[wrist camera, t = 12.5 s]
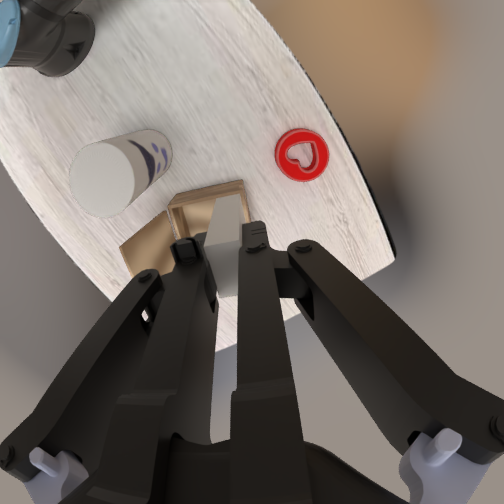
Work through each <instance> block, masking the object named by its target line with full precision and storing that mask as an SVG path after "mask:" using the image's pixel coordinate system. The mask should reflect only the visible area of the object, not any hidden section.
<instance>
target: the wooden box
mask: <svg viewBox="0 0 504 504" xmlns="http://www.w3.org/2000/svg"><path fill="white" fill-rule="evenodd" d="M235 194H240V197H241V201H242V206H243V210H244V215H245V220H246V223H249V222H251V219H250V214H249V209H248V204H247V199H246V195H245V190H244V185H243V180H238V181H233V182H228V183H223V184H219V185H214V186H209V187H205V188H201V189H196V190H192V191H188V192H183V193H179V194H176V195H175V196H174V198H173V199H172V201H171V202H170V203H169V205H168V206H167V207H168V210H169V213H170V216H171V219H172V223H173V226H174V229H175V232H176V235H177V238H178V240H179V239H181V238H185V237H191V236H192V237H194V236H195V235H196V234H197V233H202V232H207V231H208V228H209V224H210V220H211V216H212V213H213V209H214V205H215V202H216V198H221V197H226V196H230V195H235Z"/></svg>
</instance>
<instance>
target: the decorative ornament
mask: <svg viewBox="0 0 504 504" xmlns="http://www.w3.org/2000/svg"><path fill="white" fill-rule="evenodd" d="M300 143H310V144H311V148H312V153H313V160H312V163H311V165H310V166H309V167H307V168H302V167H301V166H300V163H299V160H297V159H289V158H288V156H287V152H288V150H289V148H290V147H292V146H294V145H296V144H300ZM275 161H276V163H277V165H278V167H279V168H280V170H281V171H282V172H283V173H284V174H285V175H286V176H287V177H288V178H290V179H292V180H295V181H299V182H307V181H311V180H314V179H316V178H317V177H319V176H320V175H321V174H322V173H323V172H324V171H325V169H326V167H327V165H328V161H329V150H328V146H327V144H326V142H325V141H324V139H323V138H322V137H321V136H320V135H319V134H317V133H315V132H313V131H310V130H307V129H293V130H290V131H288V132H286V133H285V134H283V135H282V136H281V138H280V139H279V140H278V142H277V144H276V147H275Z"/></svg>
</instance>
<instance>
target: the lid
mask: <svg viewBox="0 0 504 504" xmlns="http://www.w3.org/2000/svg"><path fill="white" fill-rule="evenodd" d="M175 241H176V240H175V237H174V234H173V231H172V228H171V225H170V222H169V219H168V215H167V212H166V211H163V212H161V213H160V214H159V215H158V216H156V217H155V218H153V220H151V221H150V222H149V223H148V224H146V225H145V226H144V227H143V228H141V229H140V230H139V231H138V232H136V233H135V234H134V235H133V236H132V237H130V238H129V239H128V240H127V241H126V242H124V243H123V244H122V245H121V246H120V247H119V249H120V251H121V254H122V256H123V258H124V261H125V263H126V265H127V268H128V270H129V272H130V274H131V277H132V278H133V277H134V276H135V275H137V274H138V273H140V272H141V271H142V270H145V269H157V270H158V271H159V274H160V276H161V275H164V274H167V273H169V272H172V270H173V268H174V265H175V261H174V258H173V256H172V253H171V250H170V245H171V244H172V243H174V242H175Z"/></svg>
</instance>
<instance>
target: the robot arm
mask: <svg viewBox="0 0 504 504" xmlns="http://www.w3.org/2000/svg"><path fill="white" fill-rule="evenodd" d="M81 1H82V0H3V1H2V2H0V68H2V67H32V68H34V69H35V70H38V72H39V73H41V74H42V75H45V76H48V77H59V76H63V75H66V74H68V73H69V72H71V71H72V70H74V69H75V68H76V67H77V66H78V65H79V64H80V63H81V62H82V61H83V60H84V58H85V57H86V55H87V54H88V52H89V50H90V48H91V46H92V43H93V40H94V34H95V28H94V23H93V21H92V19H91V18H90V17H89V16H87V15H85V14H83V13H81V12H76V11H72V10H73V9H74V8H75V7H76V6H77V5H78V4H79V3H80V2H81ZM71 11H72V12H71ZM170 250H171V253H172V256H173V258H174V261H175V265H174V268H173V270H172V272H169V273H167V274H164V275H161V276H160V274H159V271H158V270H157V269H145V270H142V271H141V272H140V273H138V274H137V275H135V276H134V277H133V278H132V280H131V281H130V282H129V283H128V284H127V285H126V287H125V288H124V289H123V290H122V291H121V293H120V294H119V295H118V296H117V297H116V299H115V300H114V301H113V302H112V304H111V305H110V306H109V307H108V308H107V310H106V311H105V312H104V313H103V315H102V316H101V317H100V318H99V320H98V321H97V322H96V323H95V325H94V326H93V327H92V329H91V330H90V331H89V332H88V334H87V335H86V336H85V338H84V339H83V340H82V342H81V343H80V344H79V346H78V347H77V348H76V350H75V351H74V352H73V354H72V355H71V357H70V358H69V359H68V361H67V362H66V364H65V365H64V366H63V368H62V369H61V371H60V372H59V374H58V375H57V376H56V378H55V379H54V381H53V382H52V383H51V385H50V386H49V388H48V389H47V391H46V393H45V394H44V396H43V397H42V399H41V400H40V402H39V403H38V405H37V406H36V408H35V409H34V411H33V413H32V414H30V415H29V417H27V418H26V419H25V420H24V421H23V422H22V423H21V424H20V425H19V426H18V427H17V428H16V429H15V430H14V431H13V432H12V433H11V434H10V435H9V436H8V437H7V438H6V439H5V440H4V441H3V442H2V443H1V445H0V467H1V468H2V469H3V470H4V471H6V472H7V473H9V474H11V475H12V476H14V477H15V478H17V479H19V480H20V481H22V482H23V483H24V485H25V487H26V489H27V491H28V492H29V494H30V496H31V498H32V500H33V501H34V503H35V504H466V503H467V502H468V500H469V499H470V497H471V496H472V494H473V493H474V491H475V490H476V488H477V486H478V485H479V483H480V481H481V480H482V478H483V476H484V475H485V473H486V471H487V469H488V468H489V466H490V465H491V463H493V461H495V460H496V459H497V458H499V457H500V456H501V455H502V454H504V400H503V399H501V398H499V397H497V396H495V395H493V394H492V393H489V392H488V391H486V390H484V389H482V388H480V387H478V386H476V385H475V384H473V383H471V382H469V381H467V380H465V379H463V378H461V377H460V376H458V375H456V374H455V373H454V372H453V371H452V370H451V369H450V368H449V367H448V366H447V364H445V362H444V361H443V360H442V359H441V358H440V357H439V356H438V355H437V354H436V353H435V352H434V351H433V350H432V349H431V348H430V347H429V346H428V345H427V344H426V343H425V342H424V341H423V340H422V339H421V338H420V337H419V336H418V335H417V334H416V333H415V332H414V331H413V330H412V329H411V328H410V327H409V326H408V325H407V324H406V323H405V322H404V321H403V320H402V319H401V318H400V317H399V316H398V315H397V314H396V313H395V312H394V311H393V310H392V309H390V307H388V306H387V305H386V304H385V303H384V302H383V301H382V300H381V299H380V298H379V297H378V296H376V294H375V293H373V292H372V291H371V290H370V289H369V288H368V287H367V286H366V285H365V284H364V283H363V282H362V281H361V280H359V279H358V278H357V277H356V276H355V275H354V274H353V273H352V272H351V271H350V270H348V269H347V268H346V267H345V266H344V265H343V264H342V263H341V262H339V261H338V260H337V259H336V258H335V257H334V256H333V255H332V254H330V253H329V252H328V251H327V250H326V249H325V248H324V247H322V246H321V245H320V244H319V243H318V242H316V241H313V240H309V239H302V240H299V241H296V242H293V243H291V244H290V245H289V246H288V248H287V251H278V250H274V249H272V248H271V247H270V245H269V241H268V236H267V231H266V226H265V223H264V222H262V221H261V220H260V221H255V222H249V223H246V220H245V215H244V210H243V206H242V201H241V197H240V194H235V195H230V196H226V197H221V198H216V202H215V205H214V209H213V213H212V216H211V220H210V224H209V228H208V231H207V232H202V233H197V234H196V235H195V236H194V237H192V236H191V237H185V238H181V239H179V240H177V241H175V242H174V243H172V244H171V245H170ZM217 291H218V295H219V298H224V297H230V296H236V295H238V317H237V389H236V391H233V392H232V395H231V418H230V419H231V420H230V421H231V422H230V427H231V428H230V439H229V440H225V441H221V442H218V443H214V444H212V443H211V440H210V416H211V400H212V384H213V370H214V357H215V345H216V332H217V321H218V309H219V303H218V300H217V297H216V292H217ZM280 298H294V301H295V304H296V306H297V307H298V308H299V310H300V311H301V313H302V314H303V316H304V317H305V319H306V320H307V322H308V323H309V325H310V326H311V328H312V329H313V331H314V332H315V333H316V335H317V336H318V338H319V339H320V341H321V342H322V344H323V345H324V347H325V348H326V349H327V351H328V353H329V354H330V356H331V357H332V359H333V360H334V362H335V363H336V365H337V366H338V368H339V369H340V370H341V372H342V373H343V375H344V376H345V378H346V379H347V381H348V382H349V384H350V385H351V387H352V388H353V390H354V391H355V393H356V394H357V396H358V397H359V399H360V400H361V402H362V403H363V405H364V406H365V408H366V409H367V411H368V412H369V414H370V415H371V417H372V418H373V420H374V421H375V423H376V424H377V426H378V427H379V429H380V430H381V432H382V433H383V435H384V436H385V437H386V439H387V440H388V441H389V442H390V444H391V445H392V446H393V447H394V448H395V449H396V450H397V451H398V452H399V453H400V454H401V455H402V456H403V457H402V458H401V461H400V464H399V473H400V477H401V478H402V480H403V481H404V482H405V483H406V485H407V486H408V488H409V490H410V502H409V503H408V502H406V501H405V500H403V499H401V498H399V497H398V496H396V495H394V494H393V493H391V492H389V491H388V490H386V489H384V488H383V487H381V486H380V485H378V484H377V483H375V482H373V481H372V480H370V479H369V478H367V477H366V476H364V475H363V474H361V473H360V472H358V471H357V470H356V469H354V468H353V467H351V466H350V465H348V464H347V463H345V462H344V461H343V460H341V459H340V458H338V457H337V456H336V455H335V454H333V453H332V452H330V451H328V450H326V449H324V448H323V447H320V446H318V445H316V444H313V443H309V442H306V441H304V440H303V433H302V427H301V421H300V414H299V408H298V402H297V396H296V390H295V384H294V379H293V373H292V367H291V361H290V355H289V350H288V344H287V338H286V332H285V326H284V321H283V315H282V310H281V304H280ZM144 310H145V311H146V313H147V315H148V319H147V320H146V321H145V320H144V319H143V317H142V315H141V314H142V312H143V311H144Z"/></svg>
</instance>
